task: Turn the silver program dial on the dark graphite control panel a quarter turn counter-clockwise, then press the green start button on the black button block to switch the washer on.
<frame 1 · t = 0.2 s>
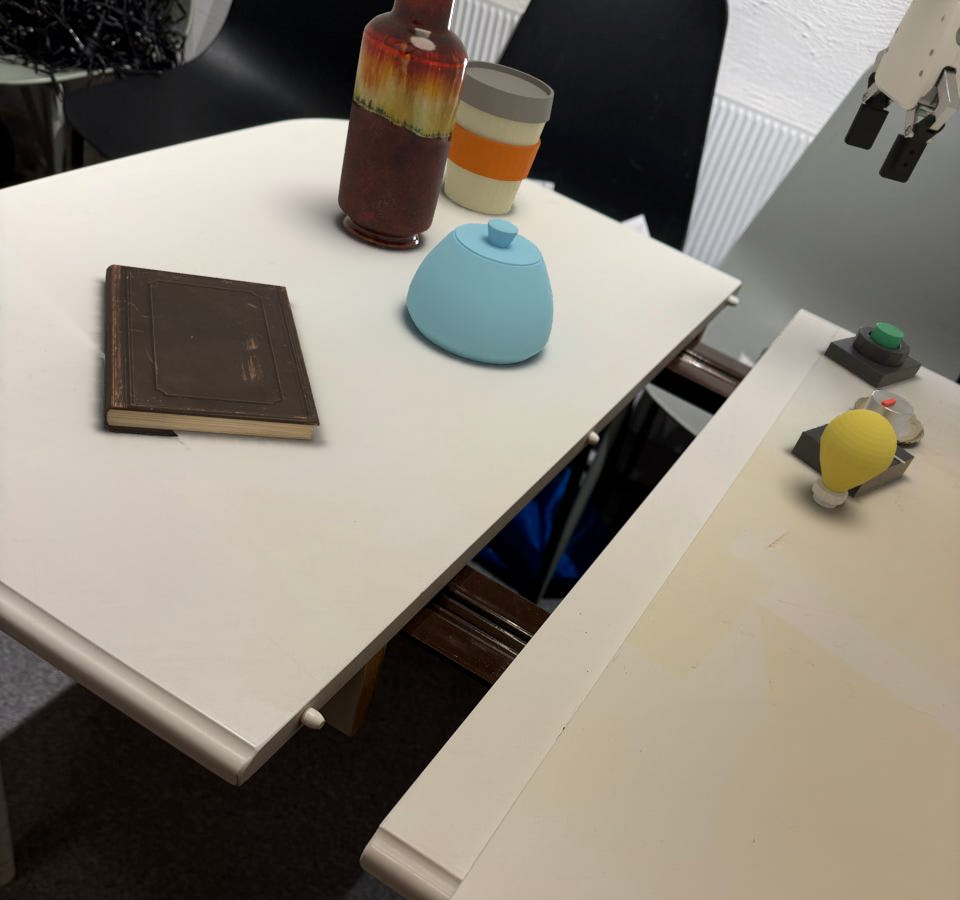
hand: (873, 162, 103), 22 cm above the table, tool pointing down, fingers open, 9 cm apart
reusable coffee cup: (476, 203, 128), on the table
program dial: (881, 420, 98), point 5 cm above the table, hinge at 0.0°
vase: (380, 236, 113), on the table
hardcover book: (204, 364, 83), on the table
seashell: (881, 431, 110), on the table
light bulb: (821, 505, 94), on the table
washer panel: (844, 468, 100), on the table
start button: (886, 336, 119), point 4 cm above the table, slide at 0.1 cm
sugar bowl: (473, 336, 100), on the table
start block: (867, 368, 122), on the table
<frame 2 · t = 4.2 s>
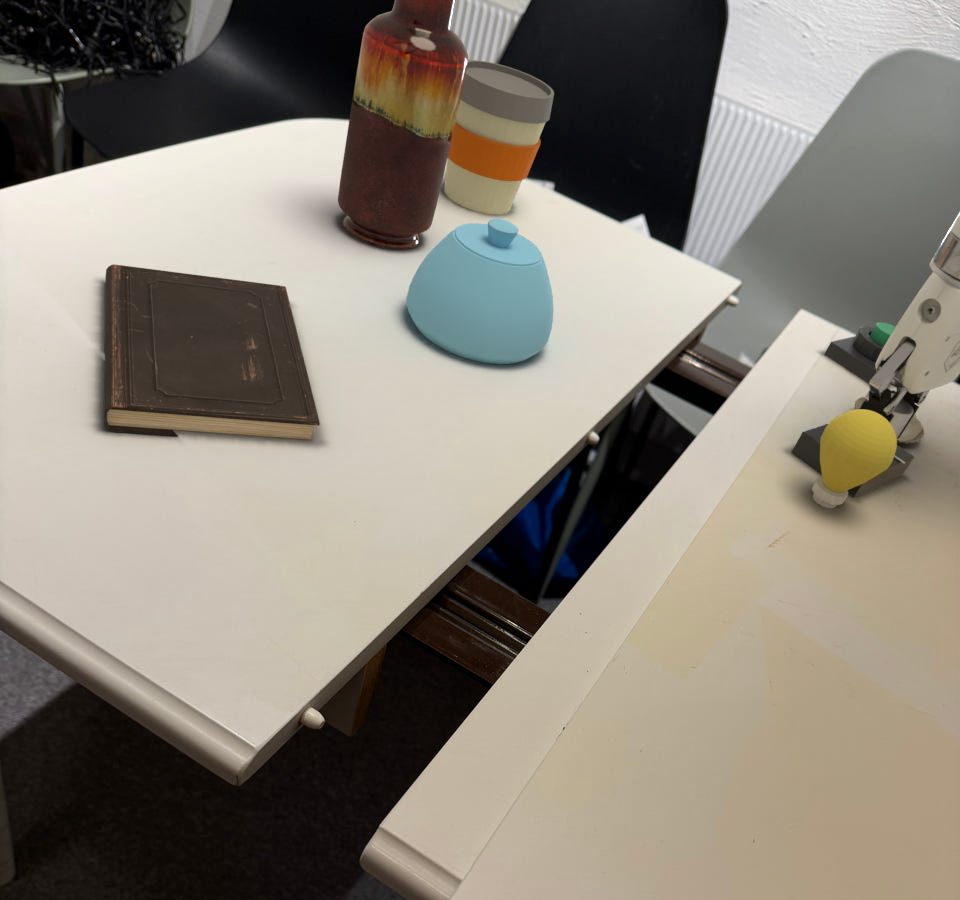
hand: (872, 435, 99), 4 cm above the table, tool pointing down, fingers closed on program dial, 4 cm apart
program dial: (881, 420, 98), point 5 cm above the table, hinge at 0.2°, touching gripper
everything else where it was.
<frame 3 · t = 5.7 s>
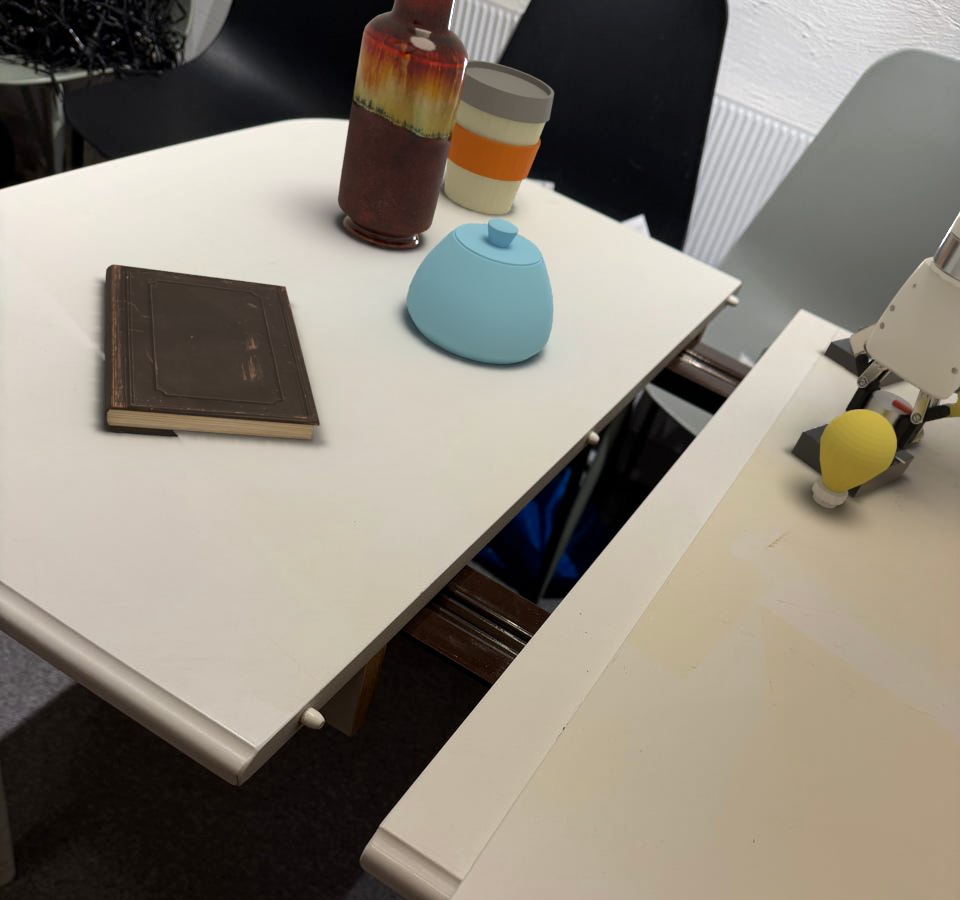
hand: (872, 435, 99), 4 cm above the table, tool pointing down, fingers closed on program dial, 4 cm apart
program dial: (881, 420, 98), point 5 cm above the table, hinge at 89.6°, touching gripper
everything else where it was.
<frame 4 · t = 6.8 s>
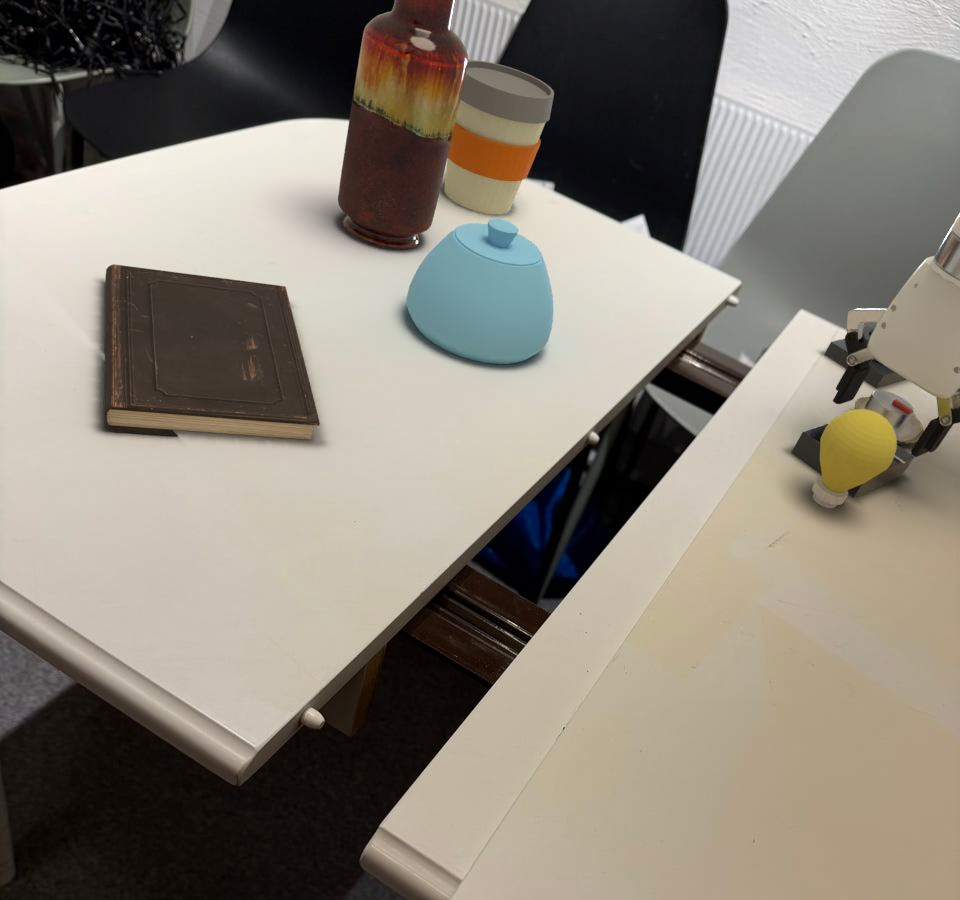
hand: (879, 426, 98), 5 cm above the table, tool pointing down, fingers open, 9 cm apart
program dial: (881, 420, 98), point 5 cm above the table, hinge at 88.3°
everything else where it was.
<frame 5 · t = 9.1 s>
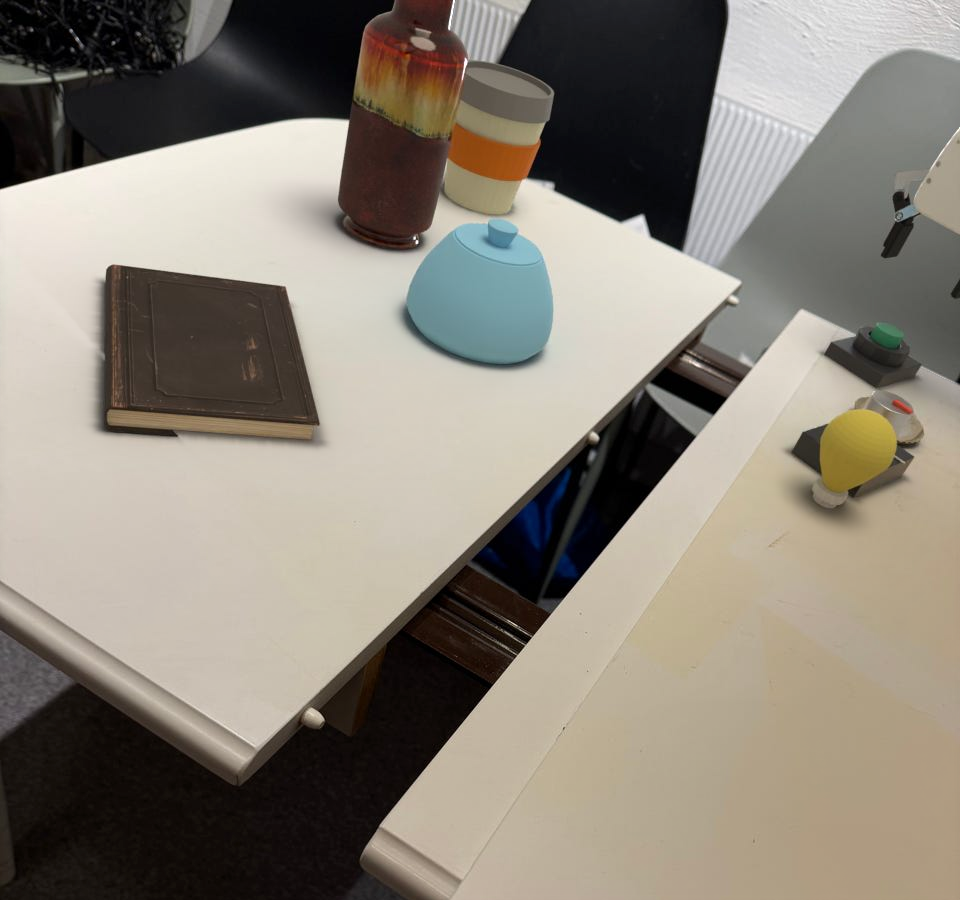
hand: (922, 276, 113), 12 cm above the table, tool pointing down, fingers open, 9 cm apart
nothing on the table moved.
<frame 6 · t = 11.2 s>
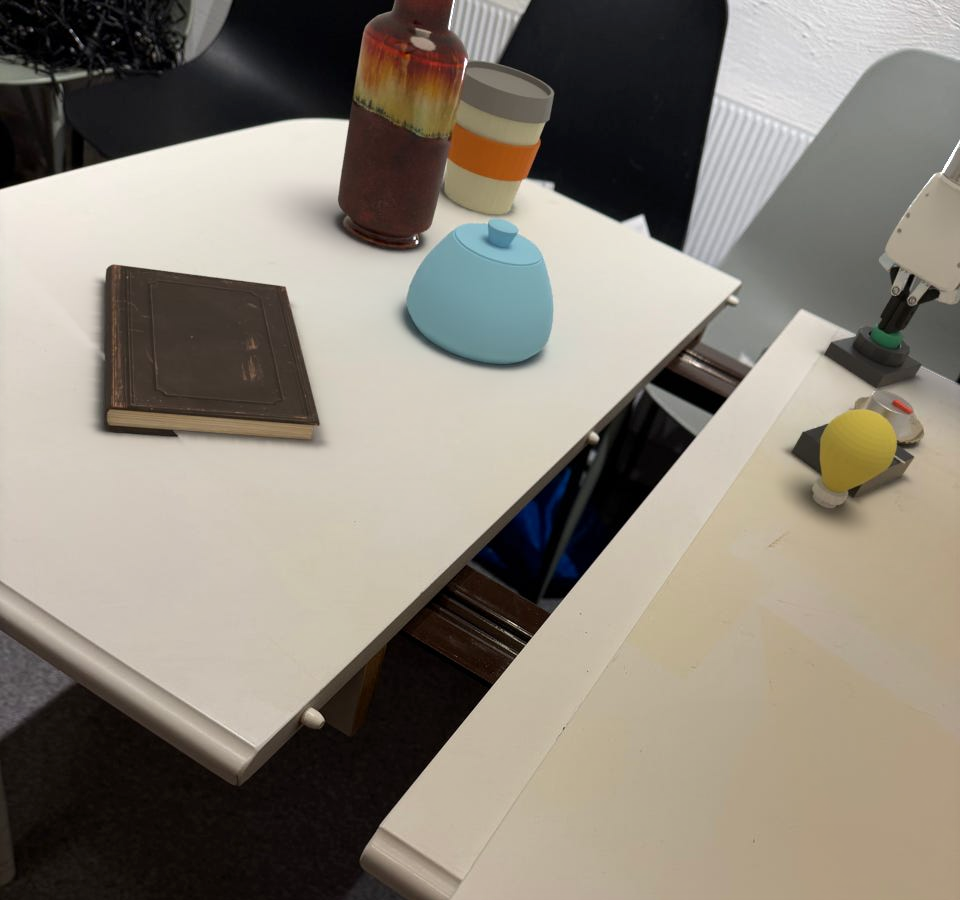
hand: (888, 329, 118), 5 cm above the table, tool pointing down, fingers closed
start button: (886, 337, 119), point 4 cm above the table, slide at 0.0 cm, touching gripper
everything else where it was.
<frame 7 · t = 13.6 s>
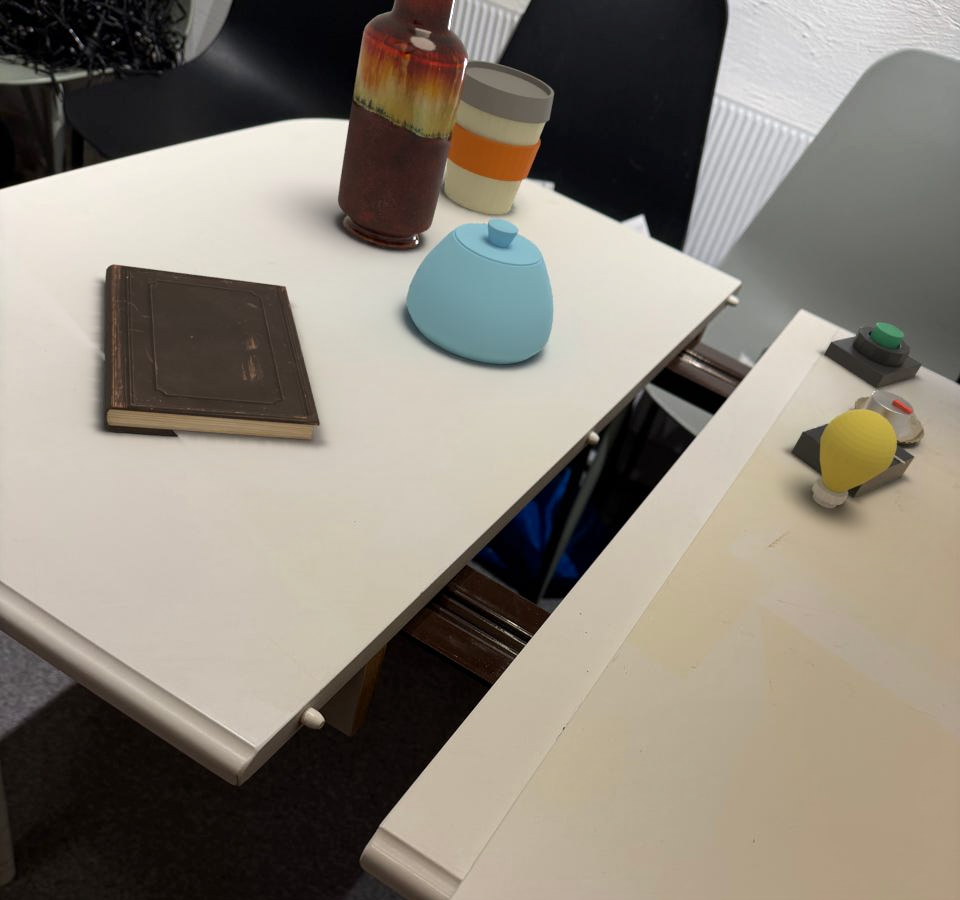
start button: (886, 336, 119), point 4 cm above the table, slide at 0.1 cm
everything else where it was.
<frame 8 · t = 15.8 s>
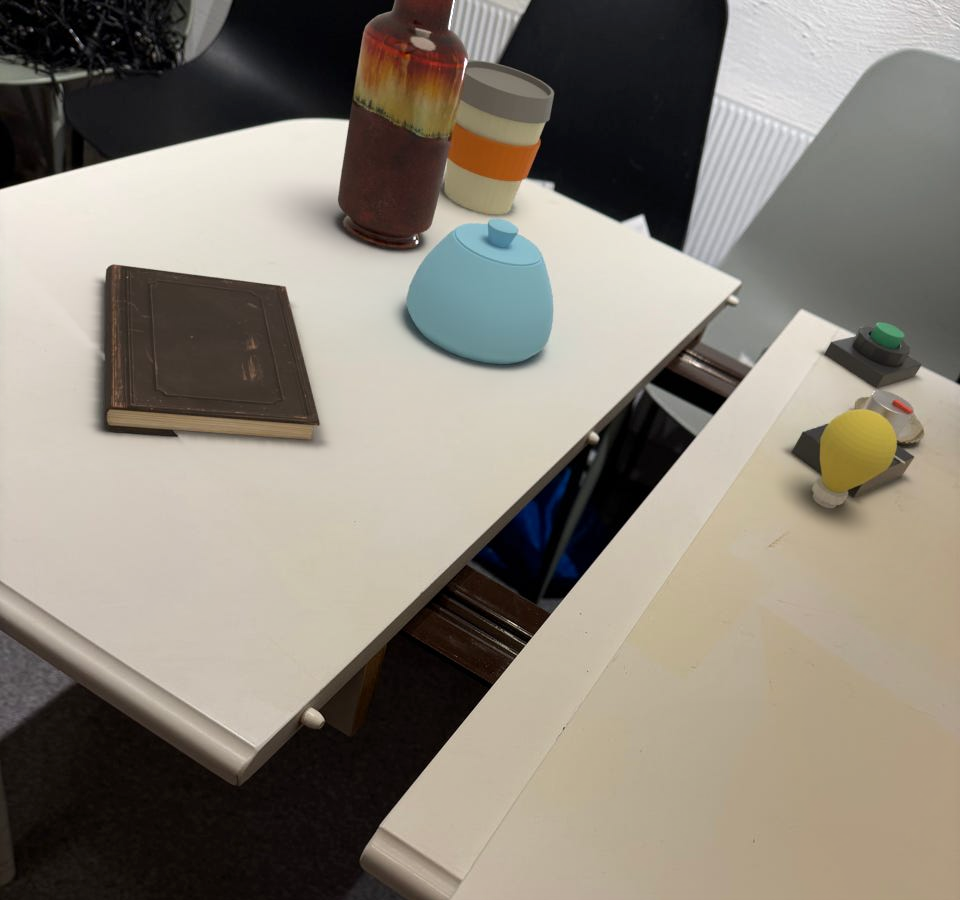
nothing on the table moved.
at the end: program dial at +88° (first picture: +0°); start button pushed in 1.1 cm at the most during the clip, back to where it started at the end; start button slide at 0.1 cm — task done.
